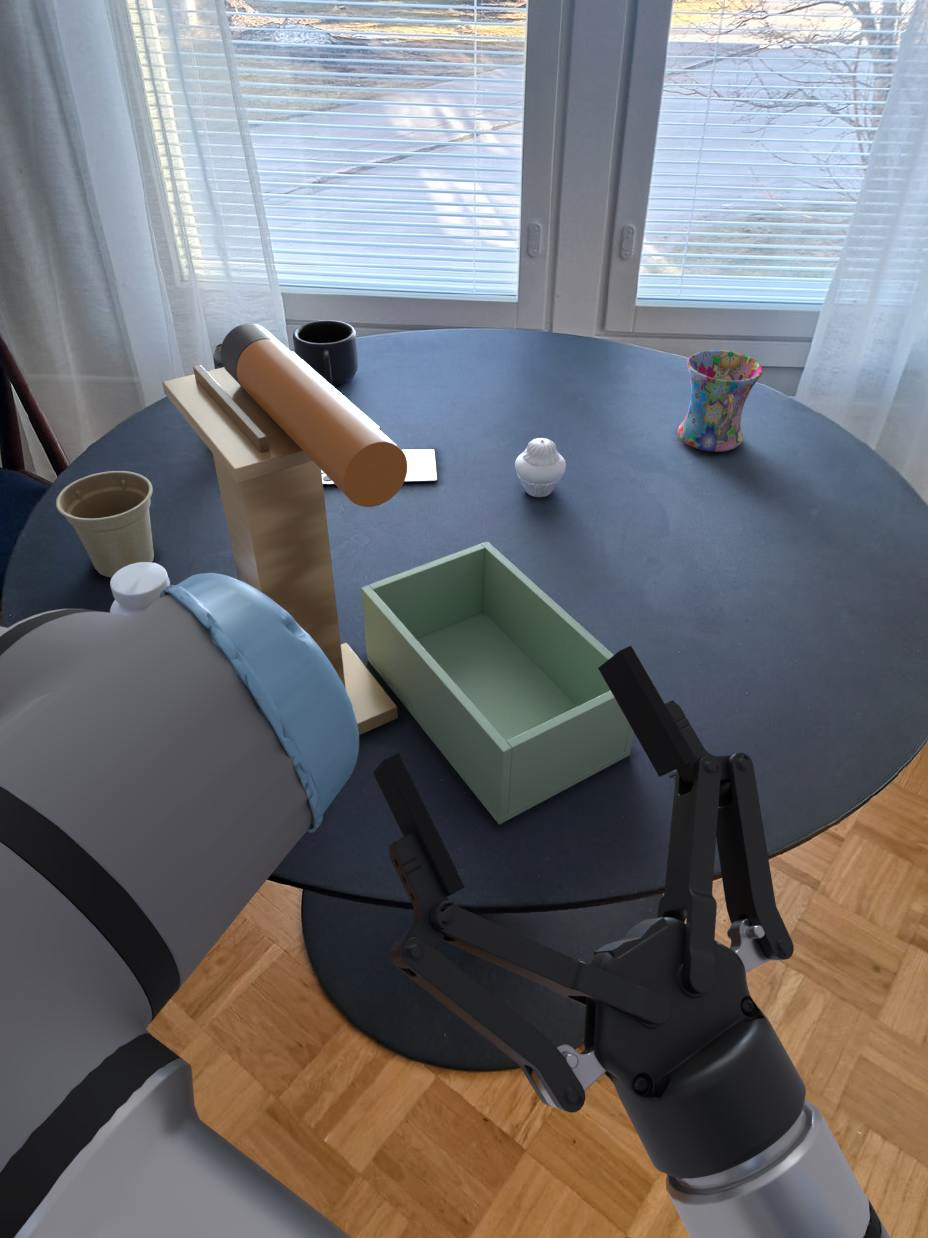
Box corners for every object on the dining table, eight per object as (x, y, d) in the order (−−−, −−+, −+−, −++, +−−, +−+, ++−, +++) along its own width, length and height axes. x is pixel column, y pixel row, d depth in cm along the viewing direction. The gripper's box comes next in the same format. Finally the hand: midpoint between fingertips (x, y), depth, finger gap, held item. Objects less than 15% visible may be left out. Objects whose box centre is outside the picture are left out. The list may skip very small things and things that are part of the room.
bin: (499, 825, 69) (503, 752, 63) (366, 659, 84) (360, 587, 78) (630, 755, 75) (644, 682, 69) (485, 611, 89) (487, 540, 83)
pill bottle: (218, 667, 82) (194, 570, 75) (168, 710, 78) (137, 611, 71) (167, 643, 85) (140, 546, 77) (116, 683, 81) (82, 585, 73)
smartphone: (437, 480, 107) (306, 482, 106) (437, 484, 108) (306, 486, 106) (434, 449, 113) (309, 450, 112) (434, 452, 113) (310, 454, 112)
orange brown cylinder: (338, 509, 48) (351, 442, 46) (217, 378, 60) (223, 320, 58) (400, 505, 50) (414, 441, 48) (271, 380, 63) (278, 325, 60)
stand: (282, 790, 72) (215, 459, 51) (221, 687, 80) (144, 370, 60) (409, 732, 76) (394, 409, 56) (338, 641, 85) (303, 334, 65)
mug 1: (297, 367, 132) (292, 321, 128) (357, 363, 133) (353, 317, 129) (298, 403, 123) (292, 355, 119) (362, 399, 124) (359, 351, 120)
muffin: (545, 472, 110) (549, 422, 105) (573, 495, 106) (579, 444, 101) (503, 485, 107) (506, 434, 103) (530, 509, 103) (534, 457, 99)
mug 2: (669, 422, 120) (682, 348, 113) (737, 424, 120) (754, 350, 113) (681, 467, 111) (696, 390, 104) (754, 470, 111) (775, 392, 104)
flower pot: (81, 543, 97) (59, 476, 92) (168, 531, 99) (152, 465, 94) (76, 594, 90) (52, 525, 85) (170, 580, 92) (152, 512, 87)
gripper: (469, 1296, 36) (263, 830, 41) (862, 987, 47) (661, 643, 51) (532, 1364, 30) (277, 799, 34) (974, 987, 40) (730, 592, 45)
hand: (506, 705), depth 43 cm, fingers open, 13 cm apart
